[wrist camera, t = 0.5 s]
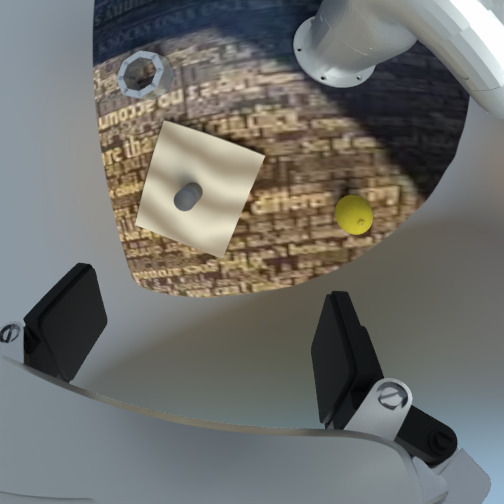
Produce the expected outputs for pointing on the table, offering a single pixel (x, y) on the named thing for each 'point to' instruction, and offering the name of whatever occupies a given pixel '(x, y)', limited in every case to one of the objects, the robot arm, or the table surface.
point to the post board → (208, 172)
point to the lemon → (353, 214)
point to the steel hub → (133, 69)
